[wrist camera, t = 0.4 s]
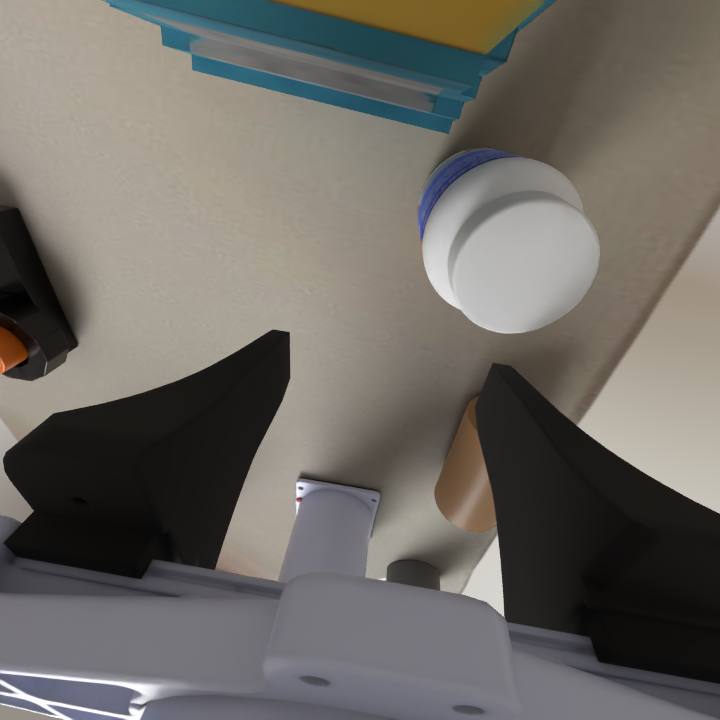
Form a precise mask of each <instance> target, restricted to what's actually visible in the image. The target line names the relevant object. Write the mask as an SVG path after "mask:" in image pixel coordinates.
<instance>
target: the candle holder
mask: <svg viewBox="0 0 720 720" xmlns="http://www.w3.org/2000/svg"><path fill="white" fill-rule="evenodd" d="M386 581H388V582H393V583H399V584H405V585H410V586H416V587H422V588H427V589H433V590H439V591H440V579H439V573H438V571H437V569H436V568H434V567H433V566H431V565H430V564H427V563H424V562H421V561H414V560H403V561H397V562H394V563H392V564H390V565H389V566H388V567H387V578H386Z"/></svg>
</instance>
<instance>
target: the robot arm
mask: <svg viewBox="0 0 720 720" xmlns="http://www.w3.org/2000/svg"><path fill="white" fill-rule="evenodd" d="M289 380H290V332H285V331H279V330H271V331H269V332H268V333H266V334H264V335H263V336H261V337H260V338H258V339H256V340H255V341H253V342H252V343H250V344H248V345H247V346H245V347H243V348H242V349H240V350H239V351H237V352H235V353H234V354H232V355H230V356H228V357H226V358H224V359H223V360H221V361H219V362H217V363H215V364H213V365H211V366H210V367H208V368H205V369H203V370H201V371H199V372H197V373H195V374H192V375H190V376H188V377H185V378H183V379H181V380H178V381H175V382H173V383H170V384H167V385H164V386H161V387H158V388H155V389H153V390H150V391H147V392H144V393H140V394H137V395H133V396H130V397H126V398H123V399H119V400H115V401H111V402H107V403H103V404H98V405H93V406H89V407H84V408H79V409H74V410H69V411H64V412H58V413H54V414H52V415H51V416H50V417H49V418H48V419H46V420H45V421H44V422H43V423H41V424H40V425H39V426H38V427H36V428H35V429H34V430H33V431H32V432H30V433H29V434H28V435H27V436H25V437H24V438H23V439H22V440H20V441H19V442H18V443H17V444H16V445H14V446H13V447H12V448H11V449H9V450H8V451H7V452H6V454H5V456H4V458H3V463H4V470H5V473H6V474H7V476H8V477H9V479H10V481H11V482H12V483H13V485H14V486H15V487H16V488H17V490H18V491H19V492H20V493H21V495H22V496H23V497H24V499H25V500H26V501H27V502H28V504H29V505H30V506H31V508H32V509H33V510H34V512H33V513H32V514H31V515H30V516H29V517H28V518H27V519H26V520H25V521H24V522H23V523H21V522H19V521H17V520H15V519H13V518H10V517H7V516H3V515H0V704H2V705H7V706H11V707H15V708H19V709H23V710H28V711H32V712H36V713H40V714H44V715H49V716H52V717H57V718H61V719H65V720H720V514H719V513H717V512H715V511H713V510H711V509H709V508H707V507H705V506H703V505H701V504H699V503H697V502H694V501H693V500H691V499H689V498H687V497H685V496H683V495H682V494H680V493H678V492H676V491H675V490H673V489H671V488H669V487H667V486H666V485H664V484H662V483H660V482H658V481H657V480H655V479H653V478H652V477H650V476H648V475H647V474H645V473H643V472H642V471H640V470H639V469H637V468H635V467H634V466H632V465H631V464H629V463H628V462H626V461H624V460H623V459H621V458H620V457H618V456H617V455H615V454H614V453H612V452H611V451H609V450H608V449H606V448H605V447H604V446H602V445H601V444H600V443H598V442H597V441H596V440H594V439H593V438H592V437H590V436H589V435H588V434H586V433H585V432H584V431H582V430H581V429H580V428H579V427H577V426H576V425H575V424H574V423H573V422H571V421H570V420H569V419H568V418H567V417H566V416H564V415H563V414H562V413H561V412H560V411H559V410H558V409H556V408H555V407H554V406H553V405H552V404H551V403H550V402H549V401H548V400H547V399H546V398H544V397H543V396H542V395H541V394H540V393H539V392H538V391H537V390H536V389H535V388H534V387H533V386H532V385H531V384H530V383H529V382H528V381H527V380H526V379H525V378H524V377H523V376H521V375H520V374H519V373H518V372H517V371H516V370H515V369H514V368H512V367H511V366H509V365H502V364H496V363H492V366H491V368H490V371H489V373H488V376H487V378H486V381H485V383H484V386H483V388H482V390H481V393H480V395H479V398H478V400H477V403H476V405H475V413H476V424H477V432H478V437H479V441H480V445H481V449H482V454H483V458H484V461H485V465H486V469H487V473H488V477H489V481H490V485H491V490H492V495H493V500H494V507H495V515H496V522H497V530H498V539H499V548H500V558H501V571H502V583H503V597H504V616H505V618H504V617H503V616H502V615H501V614H500V613H498V612H497V611H496V610H495V609H494V608H493V607H491V606H490V605H489V604H488V603H487V602H484V601H481V600H478V599H475V598H471V597H468V596H465V595H461V594H456V593H450V592H444V591H439V590H433V589H427V588H422V587H416V586H410V585H405V584H399V583H393V582H388V581H382V580H376V579H371V578H365V573H366V562H367V552H368V543H369V539H370V535H371V531H372V527H373V523H374V519H375V515H376V511H377V507H378V503H379V499H380V493H379V492H377V491H372V490H366V489H361V488H355V487H349V486H343V485H337V484H331V483H325V482H320V481H314V480H308V479H302V478H300V479H298V480H297V482H296V499H297V498H302V501H301V503H299V502H298V501H297V500H296V519H295V523H294V526H293V530H292V533H291V537H290V540H289V544H288V547H287V551H286V554H285V558H284V561H283V565H282V568H281V572H280V575H279V578H278V581H273V580H267V579H261V578H256V577H250V576H245V575H239V574H233V573H228V572H222V571H217V570H215V567H216V564H217V561H218V558H219V554H220V551H221V548H222V545H223V542H224V539H225V536H226V533H227V530H228V527H229V524H230V521H231V518H232V515H233V512H234V509H235V506H236V504H237V501H238V498H239V495H240V492H241V490H242V487H243V484H244V481H245V479H246V476H247V474H248V471H249V468H250V466H251V463H252V461H253V458H254V456H255V454H256V452H257V449H258V447H259V446H260V444H261V442H262V440H263V438H264V436H265V434H266V432H267V430H268V428H269V426H270V424H271V422H272V420H273V418H274V416H275V414H276V412H277V410H278V408H279V406H280V404H281V402H282V400H283V397H284V395H285V392H286V389H287V386H288V383H289Z"/></svg>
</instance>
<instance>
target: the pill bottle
mask: <svg viewBox="0 0 720 720" xmlns="http://www.w3.org/2000/svg"><path fill="white" fill-rule="evenodd" d="M417 222H418V228H419V234H420V241H421V248H422V255H423V260H424V265H425V269H426V272H427V275H428V278H429V280H430V282H431V284H432V285H433V287H434V289H435V290H436V291H437V293H438V294H439V295H440V296H441V297H442V298H443V299H444V300H445V301H447V302H448V303H449V304H451V305H452V306H454V307H456V308H458V309H460V310H462V312H463V313H464V314H465V315H466V316H467V317H468V318H469V319H470V320H471V321H472V322H474V323H475V324H477V325H478V326H481V327H483V328H485V329H487V330H490V331H494V332H499V333H523V332H528V331H533V330H536V329H539V328H542V327H544V326H546V325H549V324H551V323H553V322H555V321H556V320H558V319H559V318H561V317H562V316H564V315H565V314H567V313H568V312H569V311H570V310H571V309H572V308H574V307H575V306H576V305H577V304H578V303H579V301H580V300H581V299H582V298H583V297H584V295H585V294H586V292H587V291H588V289H589V288H590V286H591V284H592V282H593V280H594V278H595V275H596V273H597V269H598V266H599V258H600V245H599V240H598V236H597V233H596V230H595V228H594V226H593V225H592V223H591V222H590V220H589V219H588V218H587V216H586V215H585V214H584V210H583V205H582V202H581V199H580V197H579V195H578V193H577V191H576V189H575V188H574V186H573V185H572V183H571V182H570V181H569V180H568V179H567V178H566V177H565V176H564V175H563V174H562V173H561V172H559V171H558V170H556V169H555V168H553V167H552V166H550V165H548V164H546V163H543V162H540V161H537V160H534V159H530V158H527V157H523V156H519V155H515V154H511V153H507V152H504V151H500V150H497V149H493V148H486V147H481V148H472V149H467V150H464V151H461V152H458V153H456V154H454V155H453V156H451V157H449V158H448V159H446V160H445V161H443V162H442V163H441V164H440V165H439V166H438V167H437V168H436V169H435V170H434V171H433V172H432V173H431V175H430V176H429V178H428V179H427V181H426V182H425V184H424V186H423V189H422V191H421V194H420V197H419V201H418V208H417Z"/></svg>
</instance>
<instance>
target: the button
mask: <svg viewBox="0 0 720 720" xmlns="http://www.w3.org/2000/svg"><path fill="white" fill-rule="evenodd" d="M28 355H29V354H28V352H27V351H26V349H25V347H24V345H23V343H22V342H21V341H20V340H19V339H18V338H17V337H16V336H14V335H13V334H12V333H11V332H10V331H8V330H6V329H4V328H3V327H1V326H0V374H2V373H4V372H5V371H7V370H9V369H10V368H12V367H14V366H15V365H17V364H18V363H20V362H22V361H23V360H25V359H26V358H27V357H28Z"/></svg>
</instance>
